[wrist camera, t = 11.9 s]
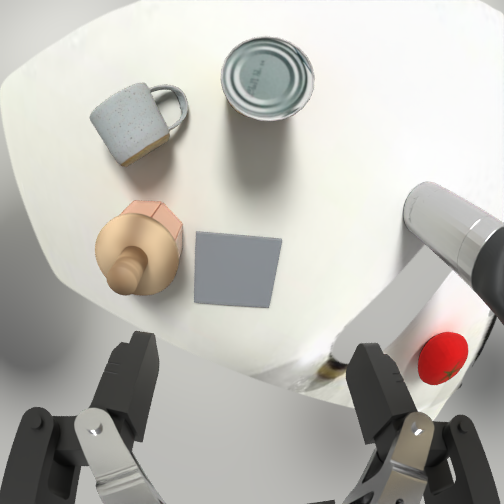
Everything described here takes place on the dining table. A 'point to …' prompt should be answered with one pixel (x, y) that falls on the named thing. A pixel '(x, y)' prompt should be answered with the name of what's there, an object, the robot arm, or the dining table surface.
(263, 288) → the mat
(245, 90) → the canned food
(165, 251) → the lid
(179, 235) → the bowl
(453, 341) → the tomato
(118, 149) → the ceramic mug
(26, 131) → the dining table surface
